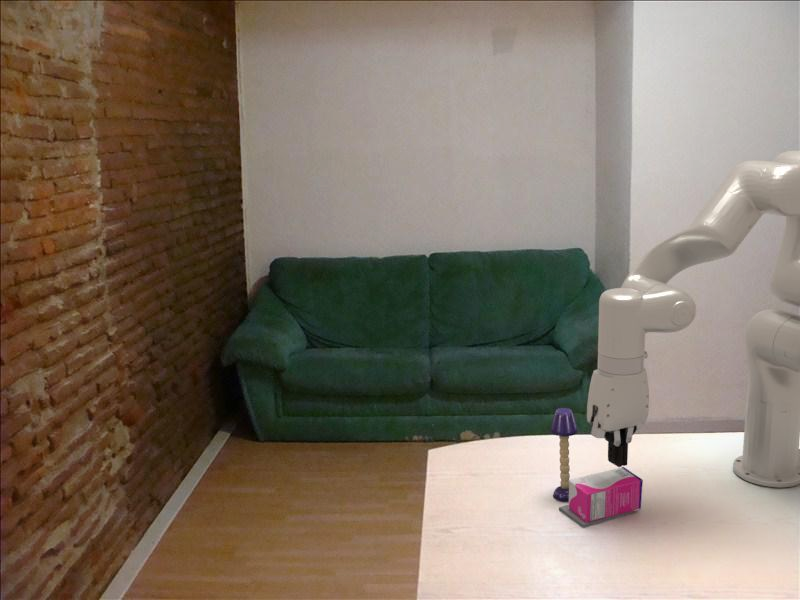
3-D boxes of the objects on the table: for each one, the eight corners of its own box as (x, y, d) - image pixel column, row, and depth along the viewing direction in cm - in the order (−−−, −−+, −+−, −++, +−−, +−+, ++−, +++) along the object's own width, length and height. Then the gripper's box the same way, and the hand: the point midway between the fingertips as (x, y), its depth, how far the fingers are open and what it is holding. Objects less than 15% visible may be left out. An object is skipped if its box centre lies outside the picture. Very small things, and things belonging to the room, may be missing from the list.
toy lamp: (547, 499, 157) (548, 413, 153) (554, 488, 162) (555, 404, 157) (573, 504, 156) (575, 417, 151) (579, 492, 160) (581, 407, 155)
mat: (609, 495, 158) (609, 492, 158) (634, 512, 152) (635, 509, 152) (559, 510, 154) (559, 507, 153) (583, 528, 147) (583, 524, 147)
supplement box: (621, 496, 157) (566, 508, 153) (623, 465, 155) (568, 477, 151) (641, 510, 152) (585, 523, 148) (643, 479, 150) (587, 492, 146)
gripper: (640, 349, 152) (637, 446, 157) (570, 364, 146) (568, 464, 151) (671, 361, 145) (666, 462, 150) (598, 377, 139) (596, 481, 144)
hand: (617, 463), depth 150 cm, fingers closed
